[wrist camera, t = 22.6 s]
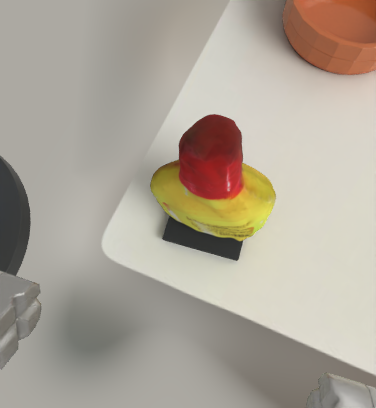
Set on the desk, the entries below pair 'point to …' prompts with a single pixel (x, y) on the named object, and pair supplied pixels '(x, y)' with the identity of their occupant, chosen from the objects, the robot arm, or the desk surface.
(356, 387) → the robot arm
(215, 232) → the bottle
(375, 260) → the desk surface
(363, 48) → the bowl
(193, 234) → the mat
